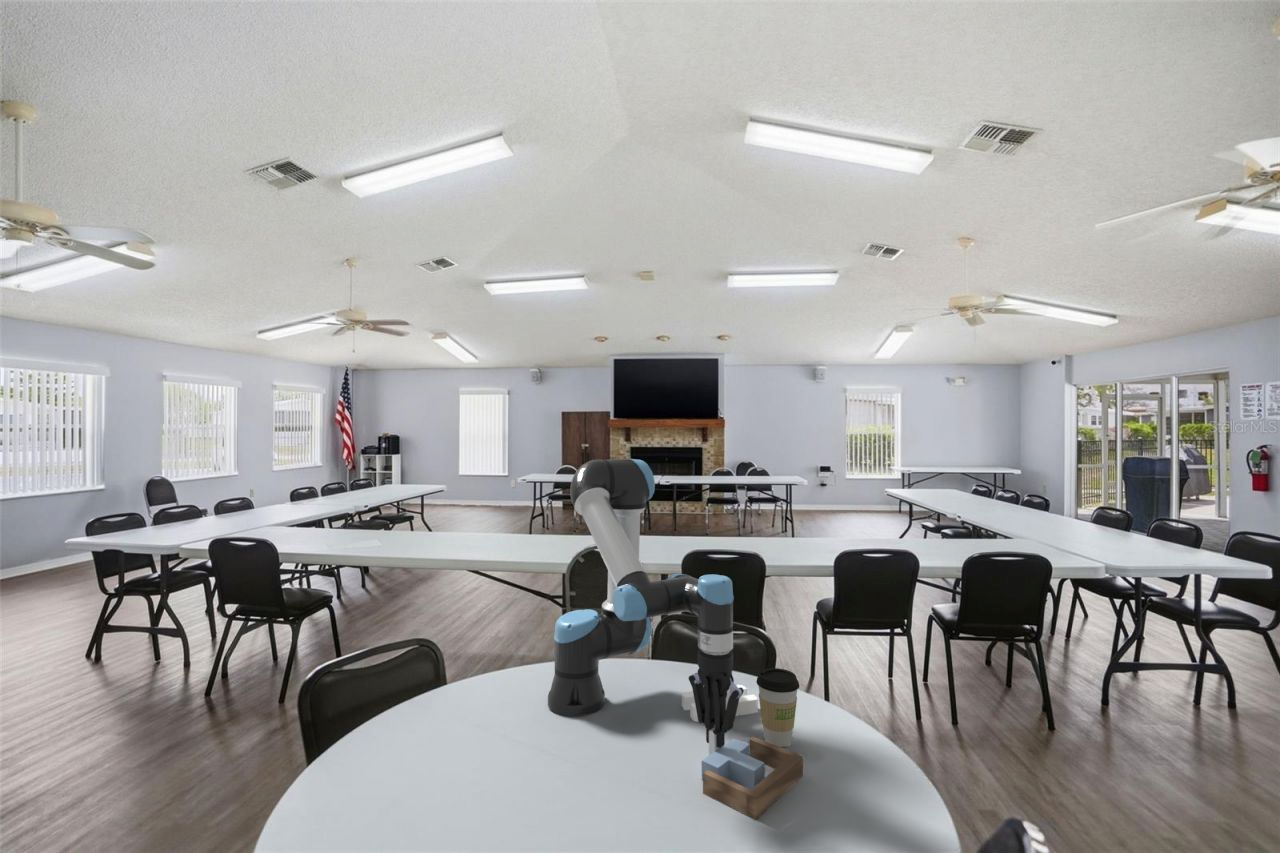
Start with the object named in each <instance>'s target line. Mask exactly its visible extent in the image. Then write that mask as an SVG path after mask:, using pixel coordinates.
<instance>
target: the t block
mask: <svg viewBox="0 0 1280 853" xmlns="http://www.w3.org/2000/svg"><path fill="white" fill-rule="evenodd" d="M706 770H709V771H711V772H713V773H715V774H718V775H720V776H722V777H724V778H726V779H728V780H730V781H733V782H735V783H737V784H739V785H741V786H743V787H745V788H748V789H750V790H751V789H752V788H754V787H755V786H756V785H757V784H758V783H760V782H761V781H762V780H763V779H764V778H765V764H764V762H762V761H759V760H757V759H754V758H752V757H750V756H749V743H746V742H744V741H741V740H738V739H735V737H734V738H732V739H731V740H729V741H727V742H726V743H725V744H724V746H723V747H721V748H719V749H718V750H716V751H715V752H713V753H712V754H710V755H709V754H708V755H707V756H706V757H704V758H703V759H701V781H702V782H703V772H705V771H706Z"/></svg>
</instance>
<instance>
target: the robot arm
mask: <svg viewBox="0 0 1280 853" xmlns="http://www.w3.org/2000/svg"><path fill="white" fill-rule="evenodd" d="M569 487H570V490H569V492H570V493H569V494H570V500H571V504H572V505H573V509H574V510H575V512H576V513H577V514H579V515H580V516H582V518H583V520H584V522H585V524H586V526H587V528H588V530H589V533H590V535H591V536H592V537H591V538H592V539H593V540H594V543H595V545H596V547H597V549H598V551H599V554H600V557H601V558H602V560H603V563H604V565H605V567H606V569H607V596H606V597H607V599H606V600H604V601H603V602H602V604H601V613H599V612H597V611H596V610H594V609H591V608H590V609H587V608H585V609H576V610H572V611H569V612H566V613H564V614H562V615H561V616H559V617H558V619H557V620H556V622H555V624H554V626H555V627H554V628H555V629H554V633H553V634H554V635H553V639H554V676H553V679H552V683H551V686H550V690H549V692H548V694H547V708H548V709H549V710H550V711H551V712H553V713H555V714H557V715H561V716H567V717H568V716H569V717H581V716H586V715H591V714H594V713H596V712H597V711H599V710H601V709H603V707H604V706H605V704H606V692H605V690H604V688H603V684H602V680H601V676H600V674H599V661H602V660H605V659H611V658H616V657H620V656H624V655H625V656H626V655H633V654H634V653H637V652H641V651H642V650H644V649H645V648H646V647H647V646H648V644H649V643H650V640H651V637H652V630H653V629H652V627H653V626H652V621H651V620H650V618H653V617H654V618H655V617H658V616H659V617H660V616H667V615H672V614H678V613H683V612H686V613H689V614H692V615H694V616H697V647H698V650H697V666H698V669H697V672H695V673H693V674H691V675H689V676H688V681H689V683H690V685H691V688H692V691H693V694H694V700H695V705H696V711H697V717H698V721H699V722H698V723H699V724H703V726H704V728H705V738H706V739H705V740H706V743H707V744H708V756H709V755H710V754H712V753H713V752H715V751H716V750H718V749H719V748H721V747H723V746H724V745H725V744H726V743H725V742H726V741H725V739H726V738H725V734H726V733H728V732H729V731H731V730H732V729H733V728H734V724H735V719H736V717H737V716H736V712H737V707H738V703H739V698H740V697H741V695H742V694H743V692H744V690H743V688H741V687H740V688H738V687H737V686H736V685H737V684H735V682H734V681H735V679H734V676H733V670H734V669H733V668H734V652H733V649H734V627H733V626H734V600H735V598H734V592H733V580H732V579H731V578H730V577H728V576H726V575H720V574H704V575H702V576H700V577H699V578H696V577H693V576H691V575H689V574H685V573H672V574H671V575H670V576H668V577H667V578H666V579H662V580H655V581H654V580H653V581H651V580H650V577H649V576H648V575H647V574H648V573H647V572H646V571H645V569H644V566H643V564H642V562H641V561H640V535H641V534H640V531H641V530H640V529H641V527H640V526H641V513H643V512H644V511H645V510H646V509H647V508H646V507H647V506H646V503H647V501H649V500H651V499H652V497H653V495H654V494H655V487H656V483H655V477H654V473H653V471H652V468H650V466H649V465H648V463H647V462H646V461H644V460H641V459H636V458H635V459H634V458H615V459H611V458H610V459H592V460H589V461H587V462H584V464H583V463H582V465H581V466H580V467H579V468H578V469H577V470H576V472H575V473H574V475H573V477H572V479H571V483H570V486H569ZM729 688H730V693H729V695H730V697H729V699H728V703H727V708H726V697H727V691H728V690H729Z"/></svg>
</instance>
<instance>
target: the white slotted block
mask: <svg viewBox="0 0 1280 853" xmlns="http://www.w3.org/2000/svg"><path fill="white" fill-rule="evenodd" d="M735 685H736V686H737V687H738V688H740V687H741V688H743V690H744V692H743V694H742V695H741V697H740V698H739V703H738V707H737V712H736V716H735V717H738V716H739V715H740V716H745V715H751V714H756V713H758V712H759V710H758V706H759V705H758V703H759V697H757V696H756V695H755V694H748V688H747V687H746V686H745V685H742V684H735ZM729 693H730V688H729V690H728V691H727V697H726V708H727V703H728V699H729V697H730V695H729ZM681 707H683V708H682V710H684V711H685V710H686V711H689V713H690V714H689V717H690V719H691V718H692V721H693V722H697V723H699V721H698V717H697V711H696V705H695V700H694V694H693V690H692V691H691V690H690V691H686V692H682V693H681Z"/></svg>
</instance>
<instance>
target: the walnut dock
mask: <svg viewBox="0 0 1280 853" xmlns="http://www.w3.org/2000/svg"><path fill="white" fill-rule="evenodd" d="M748 744H749V756H750V757H752V758H754V759H757V760H759V761H762V762H764V765H766V766H768V767H770V768H773V770H772V771H771V772H770V773H768V775H766V776H764V779H763V780H762V781H761V782H760V783H758V784H757V785H756V786H755V787H754V788H752V789H751V790H750V789H748V788H746V787H744V786H742V785H740V784H738V783H735V782H733V781H731V780H728V779H726V778H724V777H722V776H720V775H718V774H715V773H713V772H711V771H709V770H706V771H705V772H703V781H702V794H703V795H705V796H708V797H709V798H712V799H713V800H715V801H718V802H719V803H722V804H723V805H725V806H727V807H730V808H732V809H733V810H736V811H737V812H739V813H741V814H743V815H745V816H746V817H749V818H751V819H753V820H755V821H756V820H757V819H759V818H760V817H761V816H762V815H763V814H764V813H765V812H766V811H767V810H768V809H769V808H771V807H772V806H773V805H774V804H775V803H776V802H777V801H778V800H779V799H781V797H782V796H783V795H784V794H785V793H787V792H788V790H790V789H791V788H792V787H793V786H794V785H795V784H796V783H797V782H798V781H799V780H801V778H802V777H803V776H804V756H803V755H802V754H798V753H796V752H793V751H790V750H788V749H785V748H784V747H778V746H776V745H773V744H770V743H768V742H766V741H765V740H763V739H760V738H757V737H755V736H752V737H750V738H749V739H748Z"/></svg>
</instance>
